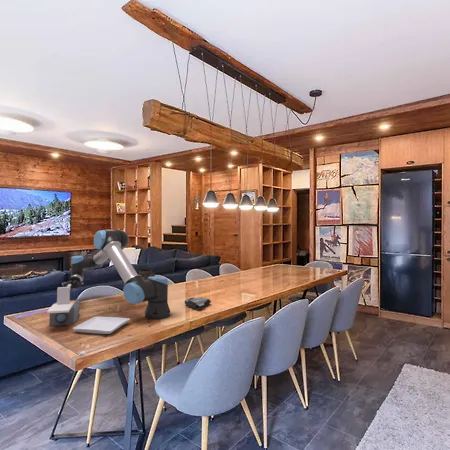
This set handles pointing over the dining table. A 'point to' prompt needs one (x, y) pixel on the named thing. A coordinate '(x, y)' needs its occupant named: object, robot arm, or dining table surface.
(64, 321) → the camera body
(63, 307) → the side cover
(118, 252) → the robot arm
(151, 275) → the beer stein
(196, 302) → the dark grey flat lump
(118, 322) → the salad plate
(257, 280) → the dining table surface
